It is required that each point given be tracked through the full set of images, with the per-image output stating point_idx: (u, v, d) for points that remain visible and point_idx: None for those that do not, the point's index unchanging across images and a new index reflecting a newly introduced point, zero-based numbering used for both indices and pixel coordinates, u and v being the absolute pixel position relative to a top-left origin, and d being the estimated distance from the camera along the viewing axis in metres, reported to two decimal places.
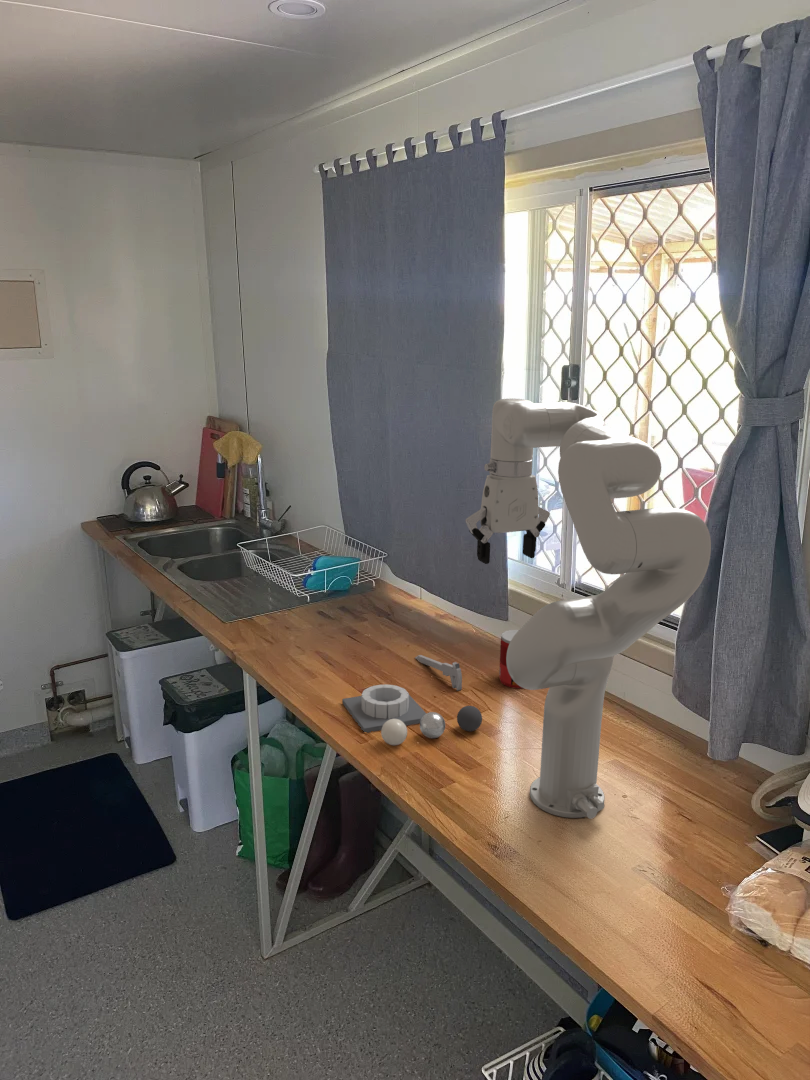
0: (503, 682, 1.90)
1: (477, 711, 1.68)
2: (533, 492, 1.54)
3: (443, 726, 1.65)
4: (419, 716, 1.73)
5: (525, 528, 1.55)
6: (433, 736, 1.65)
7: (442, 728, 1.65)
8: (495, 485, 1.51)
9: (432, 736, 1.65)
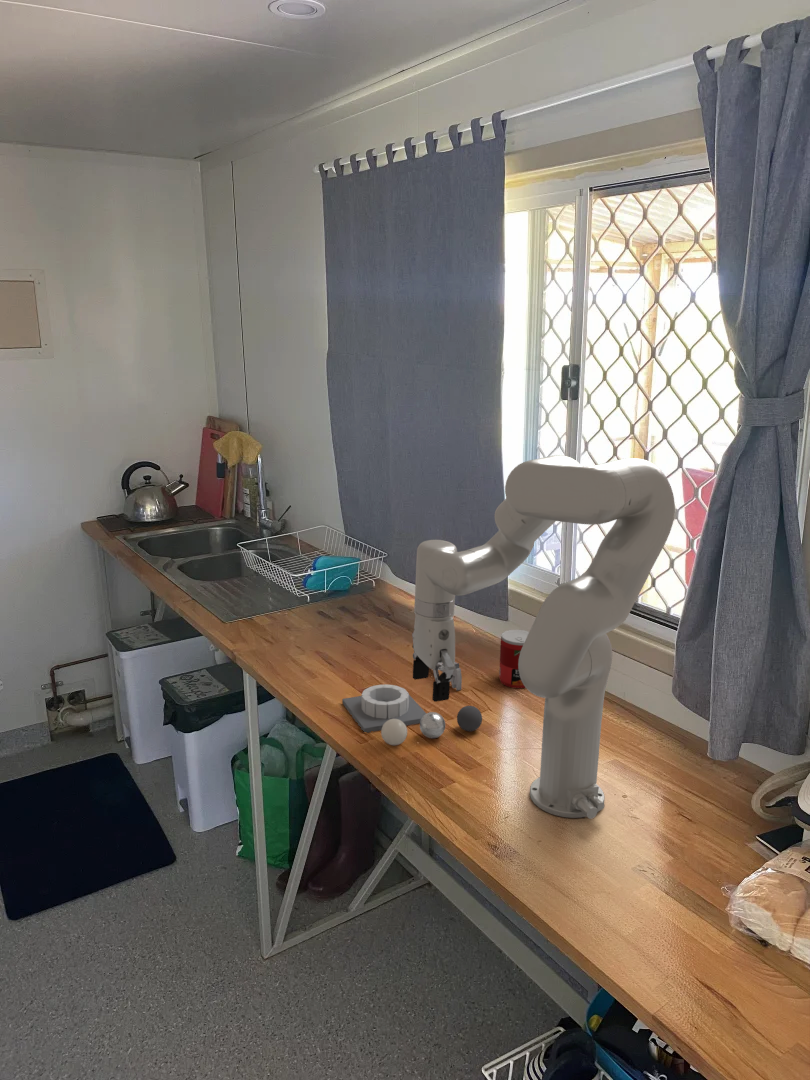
0: (503, 682, 1.90)
1: (477, 711, 1.68)
2: None
3: (443, 726, 1.65)
4: (419, 716, 1.73)
5: None
6: (433, 736, 1.65)
7: (442, 728, 1.65)
8: (453, 625, 1.58)
9: (432, 736, 1.65)
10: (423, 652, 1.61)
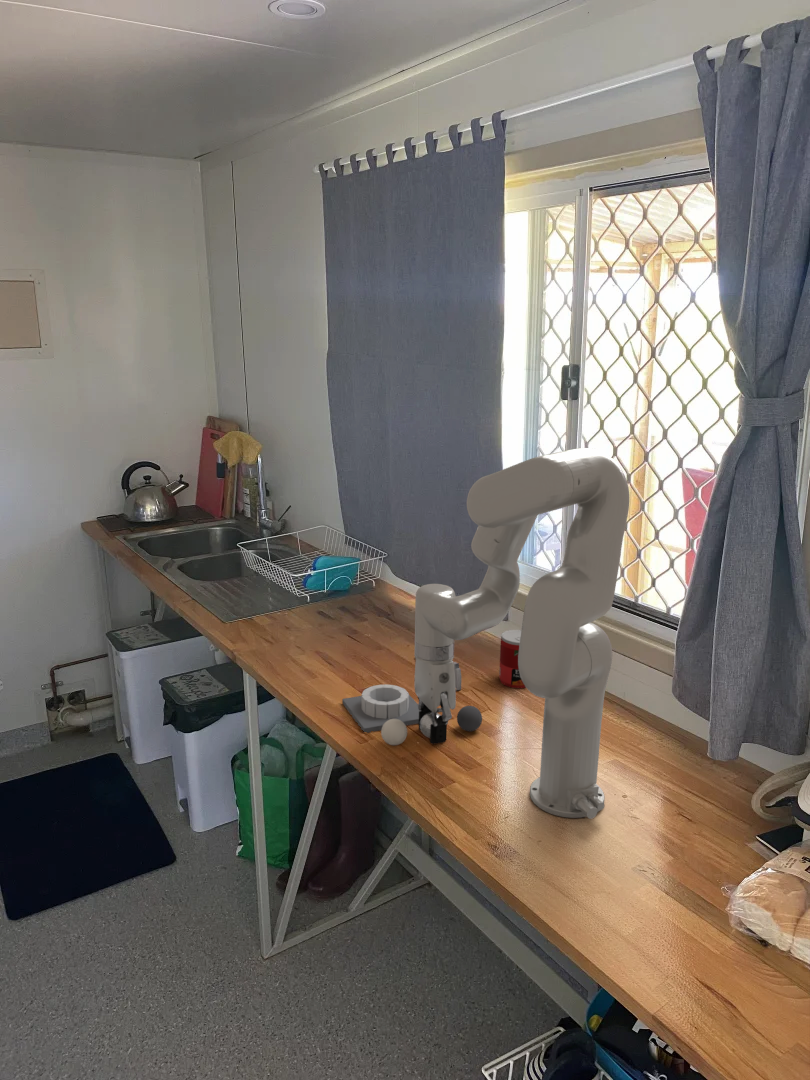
0: (503, 682, 1.90)
1: (477, 711, 1.68)
2: None
3: None
4: None
5: None
6: None
7: None
8: (453, 668, 1.60)
9: None
10: (424, 695, 1.63)
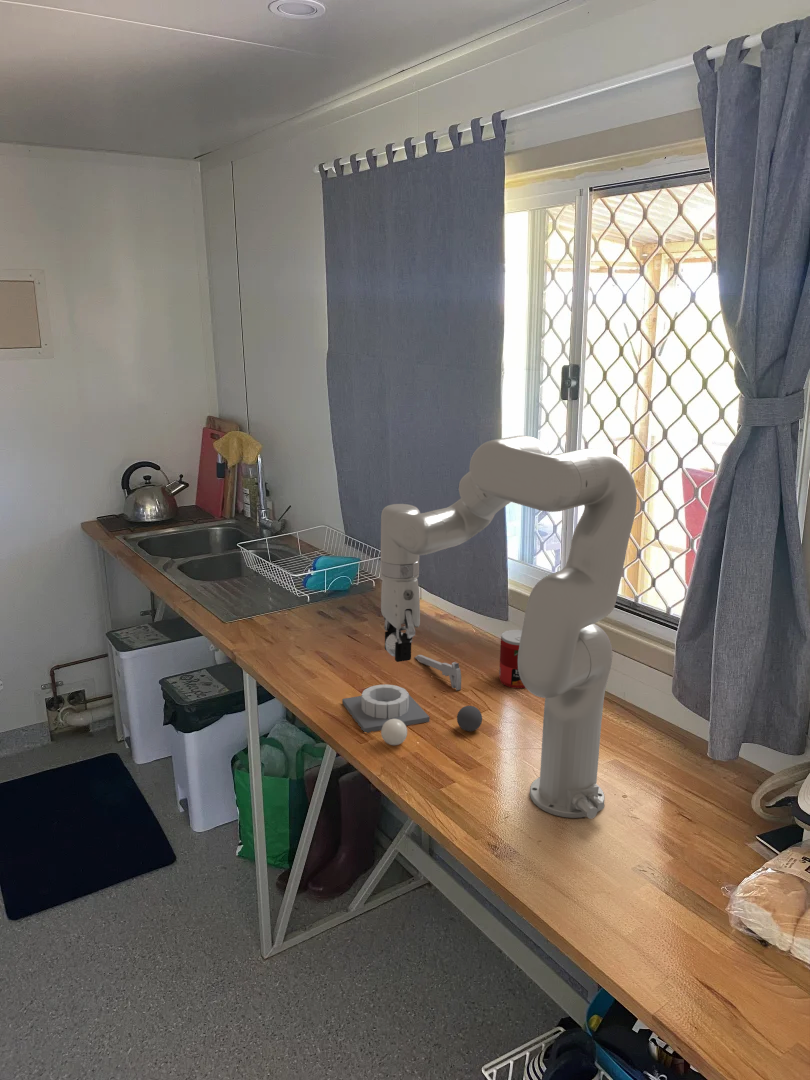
0: (503, 682, 1.90)
1: (477, 711, 1.68)
2: None
3: None
4: (419, 716, 1.73)
5: None
6: None
7: None
8: (417, 586, 1.63)
9: None
10: (389, 613, 1.66)
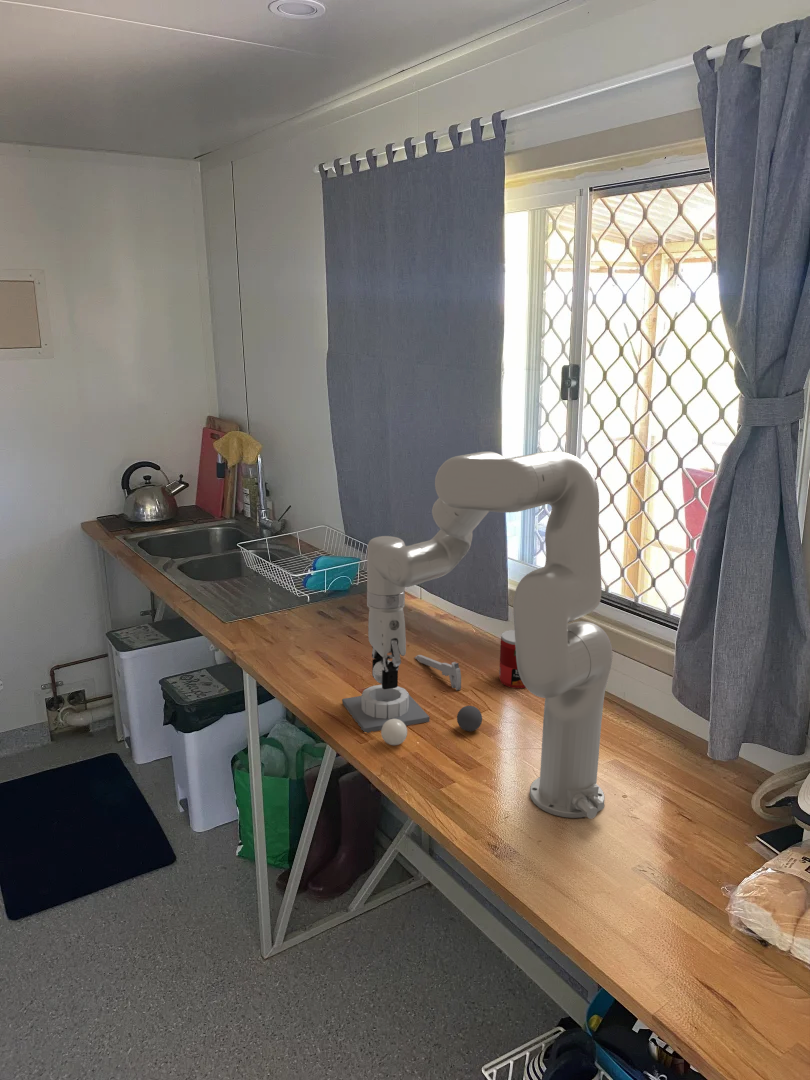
0: (503, 682, 1.90)
1: (477, 711, 1.68)
2: None
3: None
4: (419, 716, 1.73)
5: None
6: None
7: None
8: (403, 616, 1.68)
9: None
10: (376, 642, 1.71)
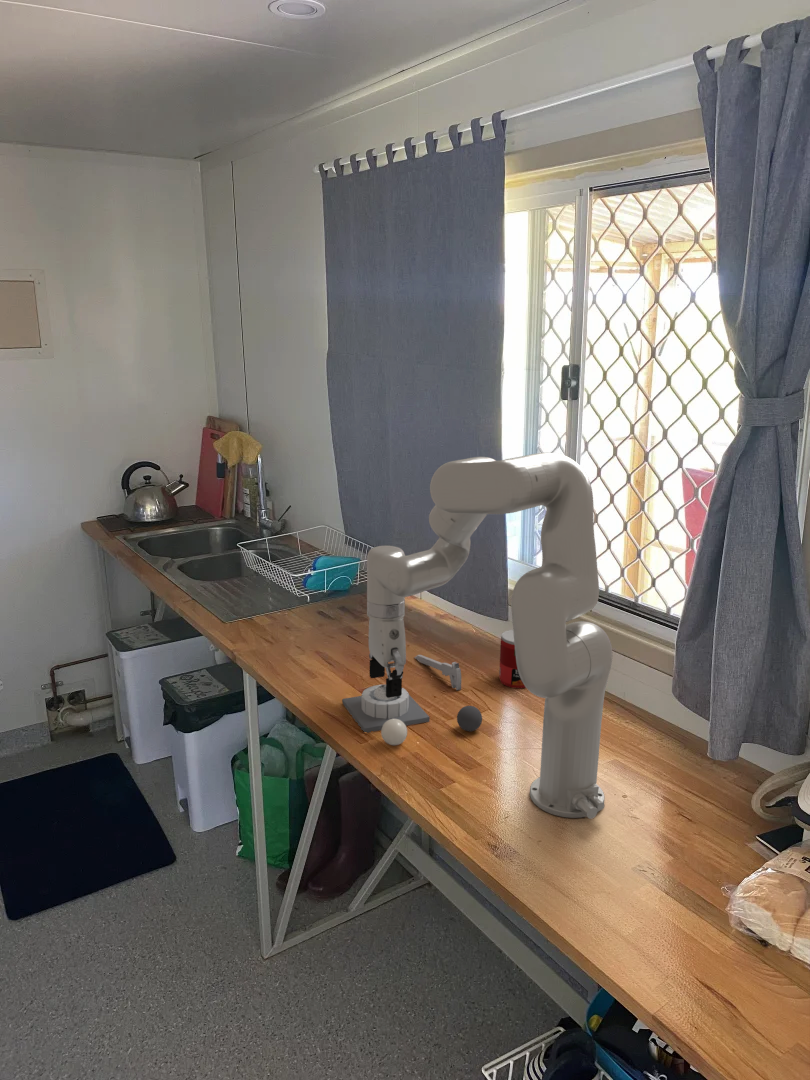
0: (503, 682, 1.90)
1: (477, 711, 1.68)
2: None
3: (395, 697, 1.74)
4: (419, 716, 1.73)
5: None
6: None
7: (394, 699, 1.74)
8: (403, 625, 1.68)
9: None
10: (376, 651, 1.71)
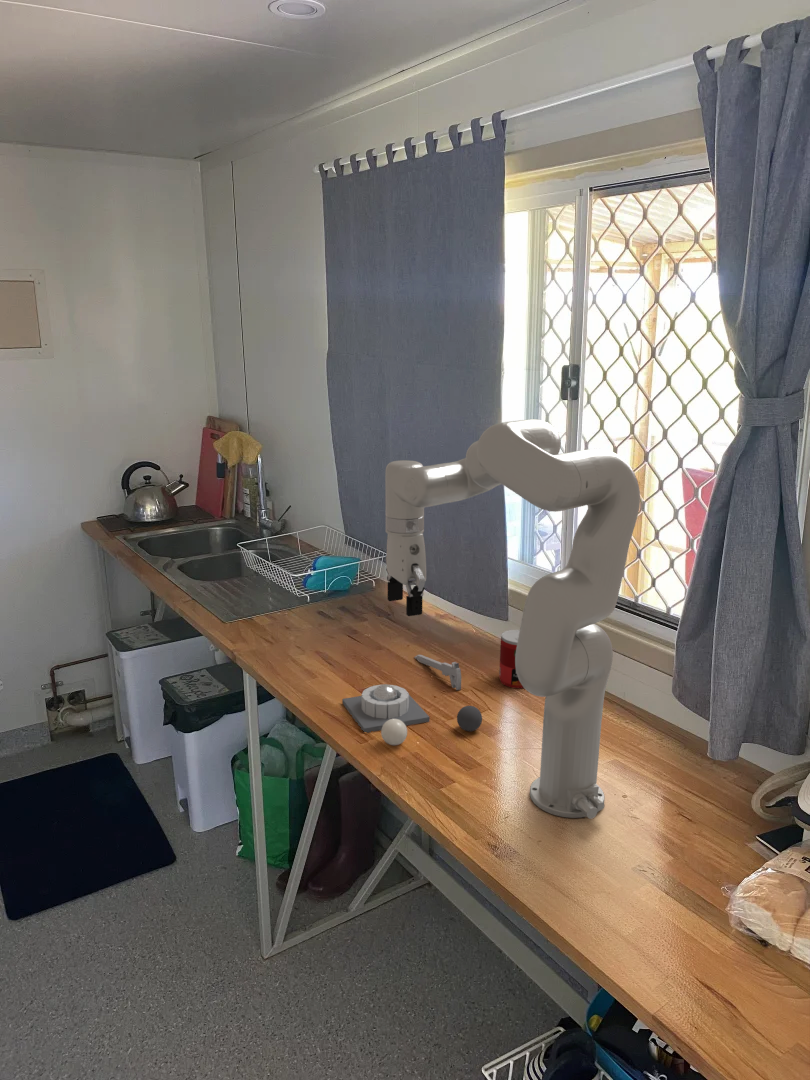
0: (503, 682, 1.90)
1: (477, 711, 1.68)
2: None
3: (395, 696, 1.75)
4: (419, 716, 1.73)
5: None
6: None
7: (394, 698, 1.74)
8: (423, 540, 1.64)
9: None
10: (396, 569, 1.67)
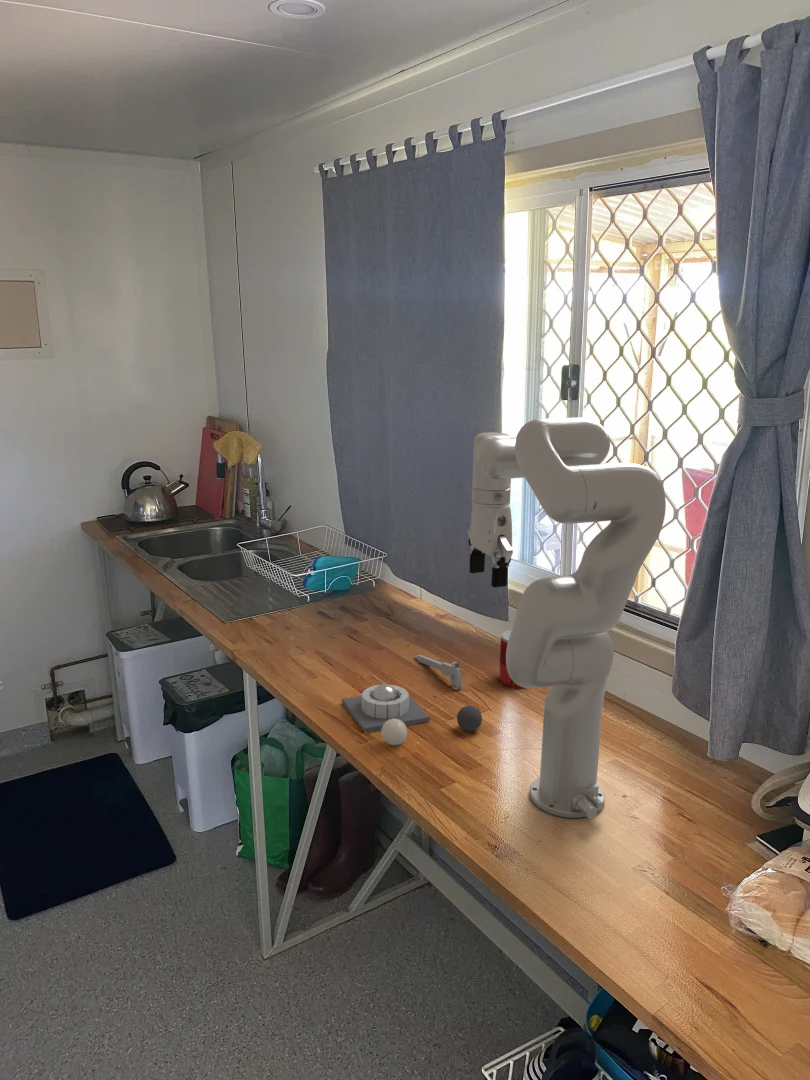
0: (503, 682, 1.90)
1: (477, 711, 1.68)
2: None
3: (394, 696, 1.75)
4: (419, 716, 1.73)
5: None
6: None
7: (393, 697, 1.74)
8: (510, 512, 1.65)
9: None
10: (481, 541, 1.68)
